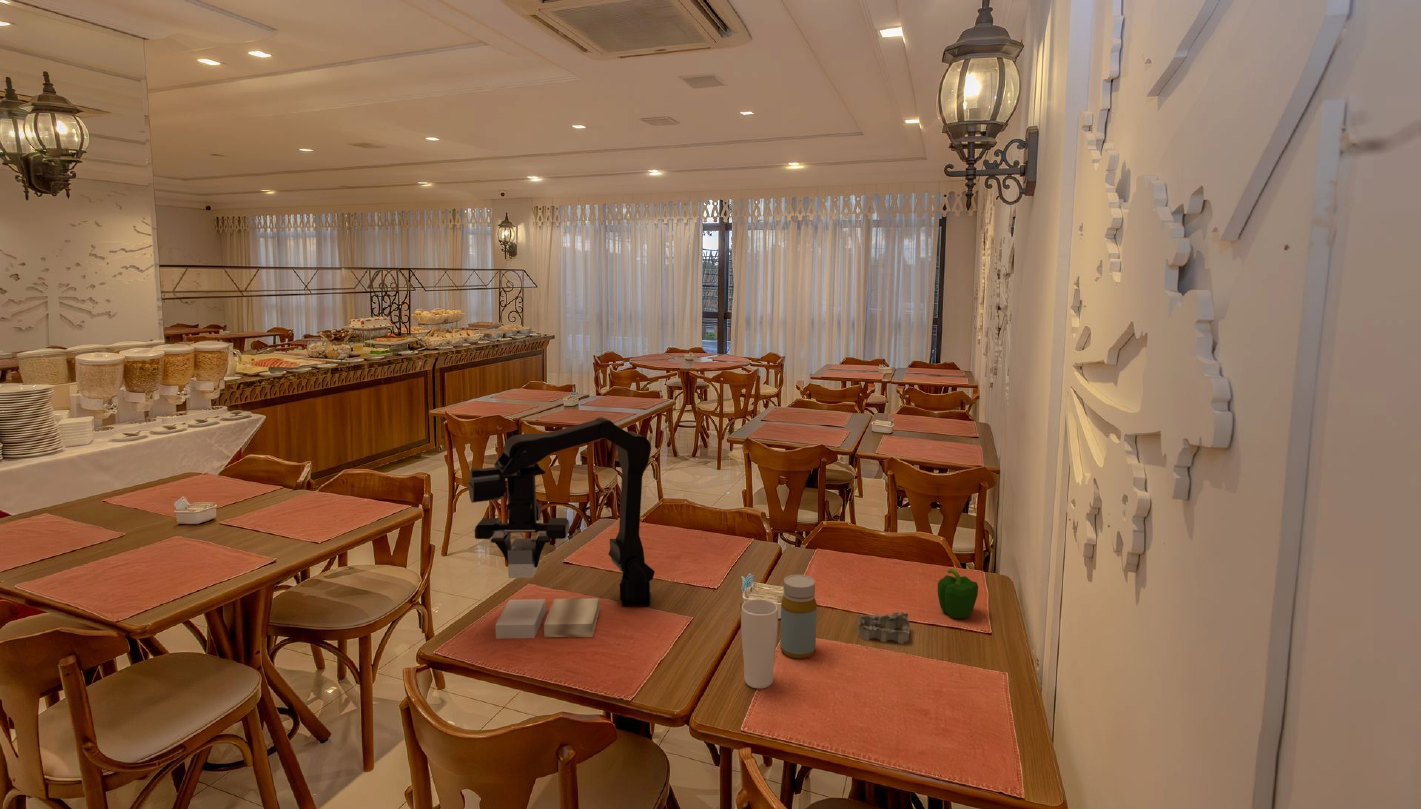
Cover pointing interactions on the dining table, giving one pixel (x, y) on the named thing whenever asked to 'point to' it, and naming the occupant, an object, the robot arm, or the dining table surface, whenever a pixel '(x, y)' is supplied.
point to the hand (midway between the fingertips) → (524, 566)
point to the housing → (522, 558)
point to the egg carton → (884, 621)
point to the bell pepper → (957, 595)
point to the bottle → (798, 617)
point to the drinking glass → (759, 641)
